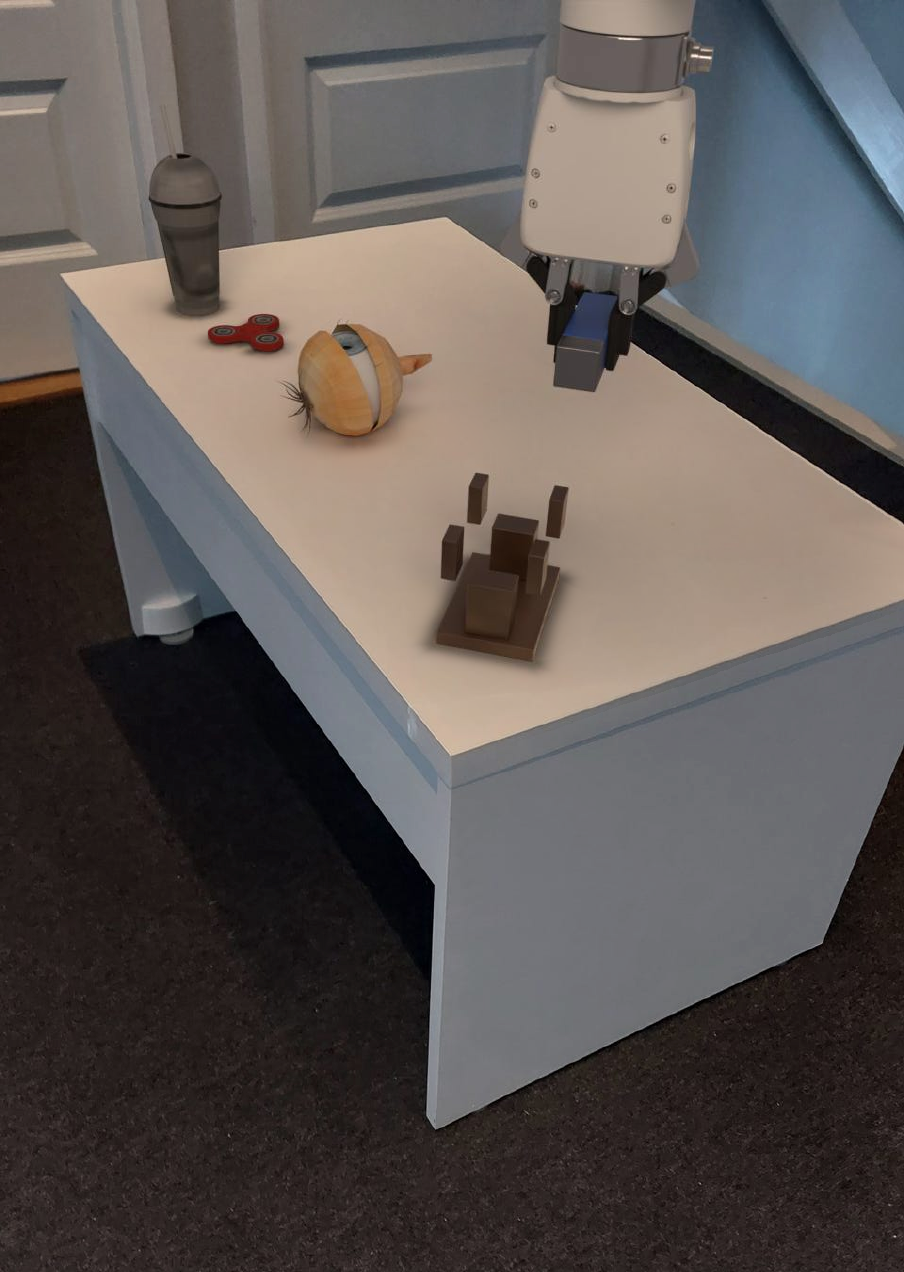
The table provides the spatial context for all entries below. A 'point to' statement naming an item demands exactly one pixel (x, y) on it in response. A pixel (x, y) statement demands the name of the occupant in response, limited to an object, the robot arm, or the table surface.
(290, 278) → the table surface
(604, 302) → the blue eraser block
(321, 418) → the sculpture
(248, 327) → the fidget spinner
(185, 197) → the beverage cup
